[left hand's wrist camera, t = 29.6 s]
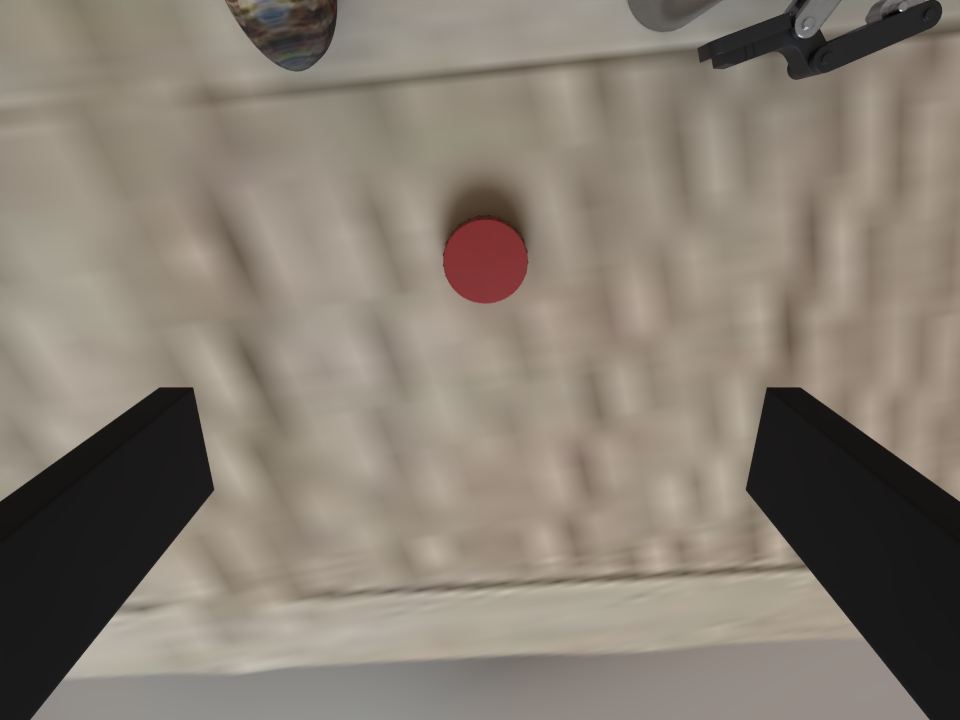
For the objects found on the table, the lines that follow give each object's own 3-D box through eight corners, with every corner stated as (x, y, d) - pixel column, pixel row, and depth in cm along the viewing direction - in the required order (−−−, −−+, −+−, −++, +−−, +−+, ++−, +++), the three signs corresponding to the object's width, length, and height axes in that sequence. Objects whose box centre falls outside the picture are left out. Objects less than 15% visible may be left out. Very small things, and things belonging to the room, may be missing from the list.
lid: (449, 301, 38) (447, 308, 36) (439, 219, 36) (436, 222, 34) (528, 293, 37) (531, 300, 36) (523, 210, 36) (525, 213, 34)
